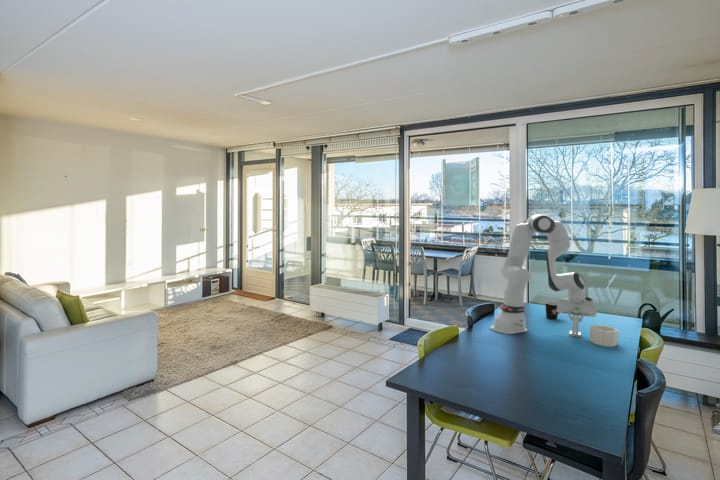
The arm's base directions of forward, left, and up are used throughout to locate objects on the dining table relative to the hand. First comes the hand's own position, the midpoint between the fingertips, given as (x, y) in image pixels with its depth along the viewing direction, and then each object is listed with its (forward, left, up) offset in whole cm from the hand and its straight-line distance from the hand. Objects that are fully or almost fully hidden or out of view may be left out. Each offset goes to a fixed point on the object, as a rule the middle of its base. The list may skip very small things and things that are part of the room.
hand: (575, 320), depth 226 cm
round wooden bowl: (+1, -15, -9) cm, 17 cm away
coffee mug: (+26, +25, -9) cm, 37 cm away
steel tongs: (+1, 0, -9) cm, 9 cm away
